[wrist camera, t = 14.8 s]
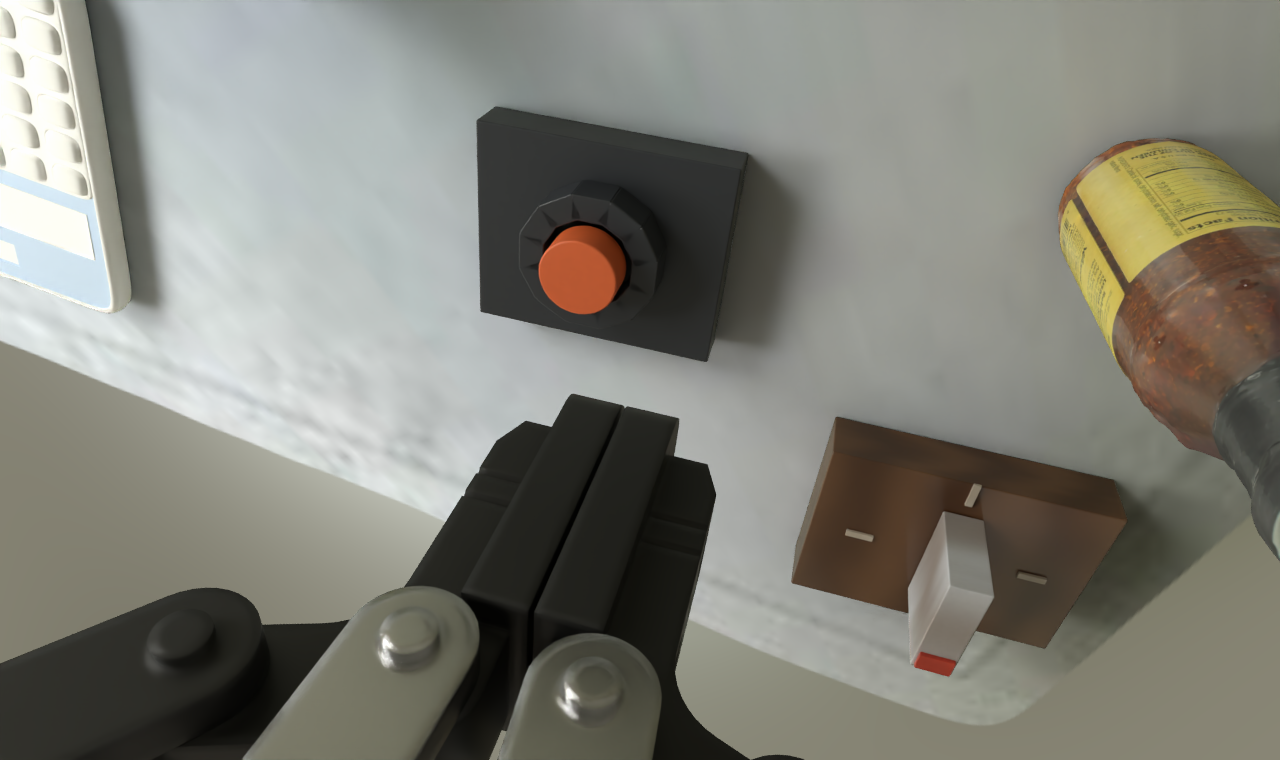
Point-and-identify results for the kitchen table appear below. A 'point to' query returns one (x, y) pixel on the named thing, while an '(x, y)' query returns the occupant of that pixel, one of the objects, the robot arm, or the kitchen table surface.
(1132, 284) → the sauce bottle
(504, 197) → the push button box
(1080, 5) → the kitchen table surface
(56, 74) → the calculator
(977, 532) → the tap lever
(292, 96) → the kitchen table surface
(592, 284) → the button
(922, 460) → the base
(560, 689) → the robot arm
